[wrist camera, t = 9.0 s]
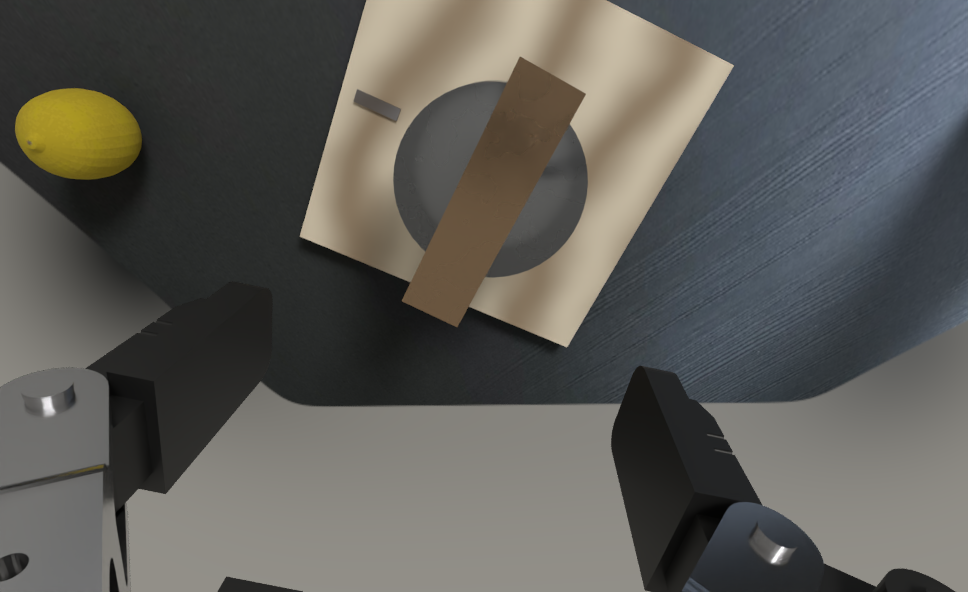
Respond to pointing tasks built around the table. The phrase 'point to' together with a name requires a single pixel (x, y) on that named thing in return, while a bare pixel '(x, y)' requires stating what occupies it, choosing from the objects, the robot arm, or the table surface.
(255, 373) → the robot arm
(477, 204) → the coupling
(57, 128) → the lemon
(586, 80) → the mounting board
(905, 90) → the table surface
